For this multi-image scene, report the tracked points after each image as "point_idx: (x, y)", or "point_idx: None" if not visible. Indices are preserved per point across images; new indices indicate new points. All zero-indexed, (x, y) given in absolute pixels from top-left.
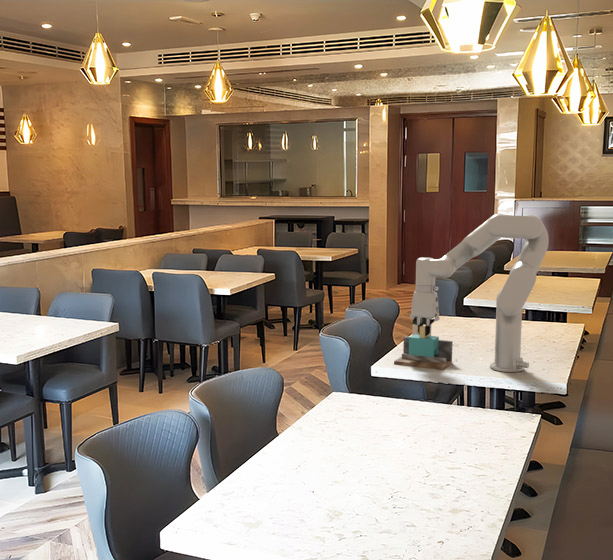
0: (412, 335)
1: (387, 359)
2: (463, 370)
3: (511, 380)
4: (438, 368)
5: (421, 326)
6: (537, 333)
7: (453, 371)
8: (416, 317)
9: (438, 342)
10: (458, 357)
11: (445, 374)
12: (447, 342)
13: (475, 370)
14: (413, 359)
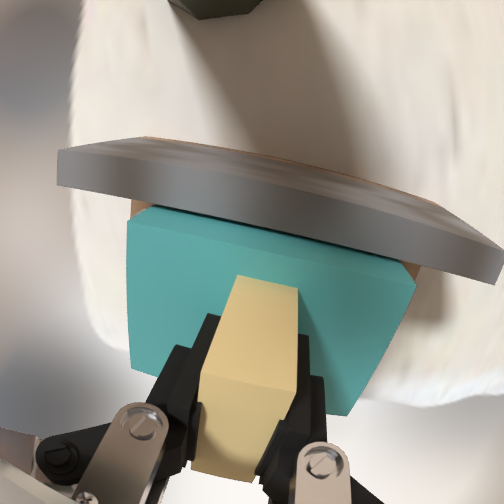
0: (127, 294)
1: (83, 206)
2: (459, 327)
3: None
4: None
5: (206, 464)
6: None
7: (417, 353)
8: (63, 489)
9: (396, 261)
10: (457, 51)
11: (377, 396)
12: (467, 274)
13: (500, 312)
14: None
